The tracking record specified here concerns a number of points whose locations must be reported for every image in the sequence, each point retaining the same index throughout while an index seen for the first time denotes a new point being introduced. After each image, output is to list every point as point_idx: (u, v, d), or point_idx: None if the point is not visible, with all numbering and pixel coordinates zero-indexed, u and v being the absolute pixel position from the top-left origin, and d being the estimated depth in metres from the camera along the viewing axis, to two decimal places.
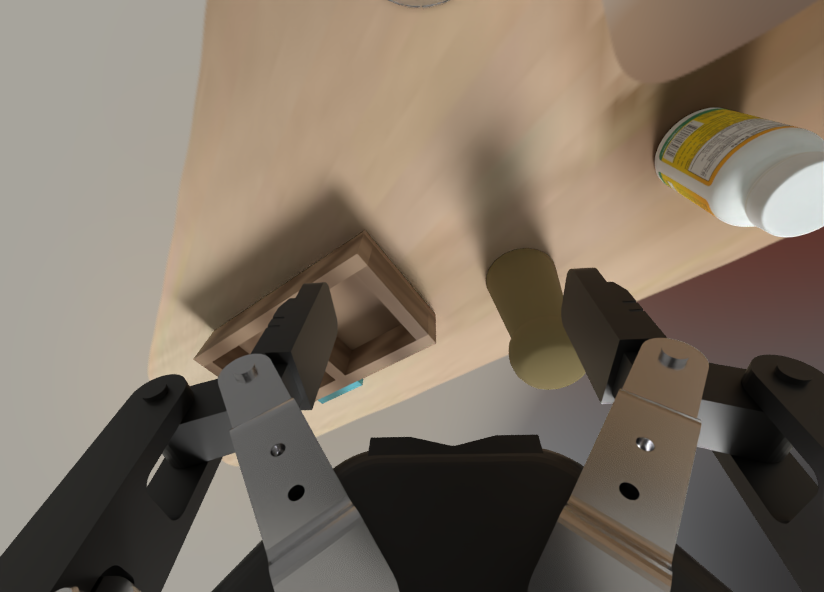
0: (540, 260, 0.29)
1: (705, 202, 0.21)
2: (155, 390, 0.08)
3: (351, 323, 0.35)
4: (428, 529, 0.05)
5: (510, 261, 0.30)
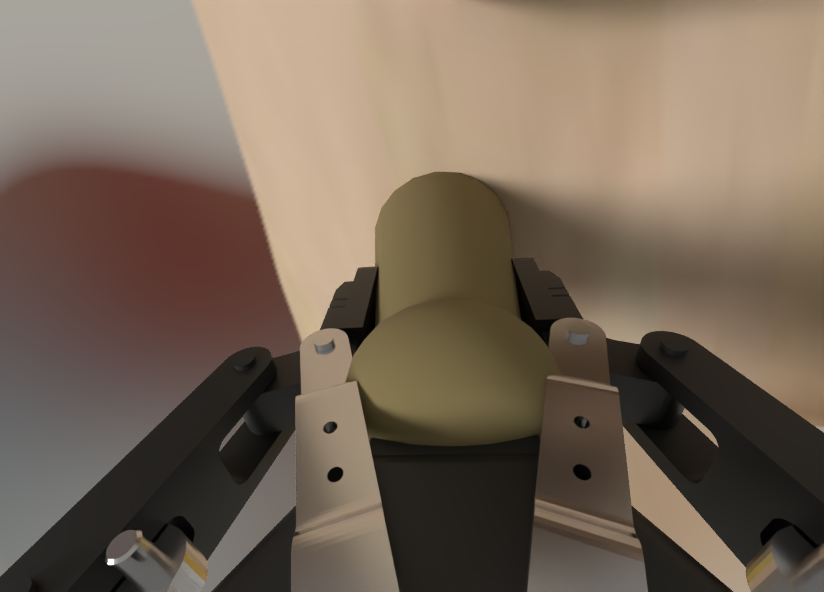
0: None
1: None
2: (244, 360, 0.09)
3: None
4: (428, 529, 0.05)
5: None
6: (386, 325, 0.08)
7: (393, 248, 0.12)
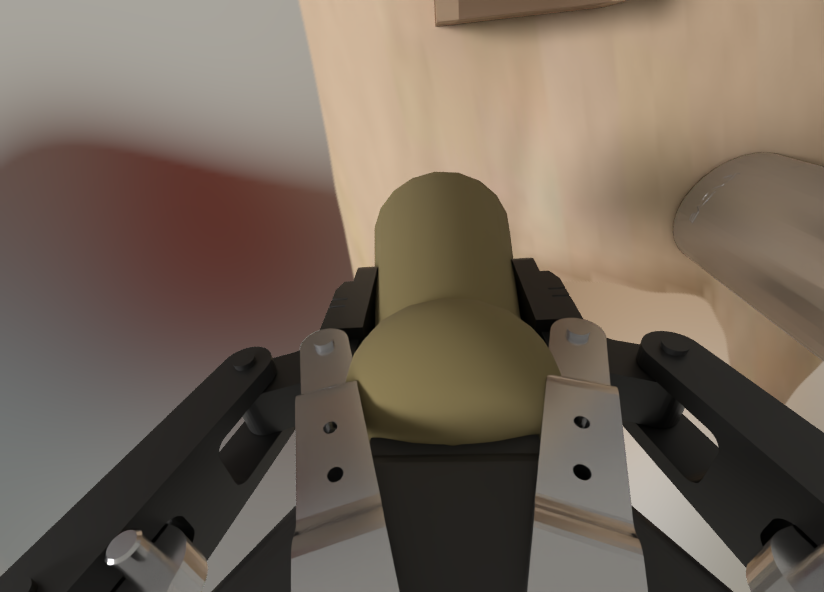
0: None
1: None
2: (244, 360, 0.09)
3: None
4: (428, 529, 0.05)
5: None
6: (386, 324, 0.08)
7: (392, 248, 0.12)
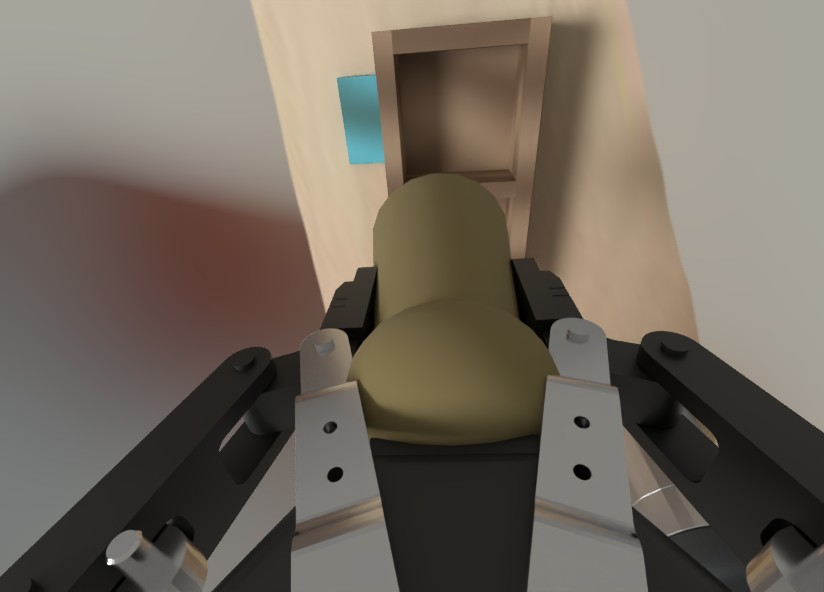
0: None
1: None
2: (244, 360, 0.09)
3: None
4: (428, 528, 0.05)
5: None
6: (386, 326, 0.08)
7: (391, 249, 0.12)
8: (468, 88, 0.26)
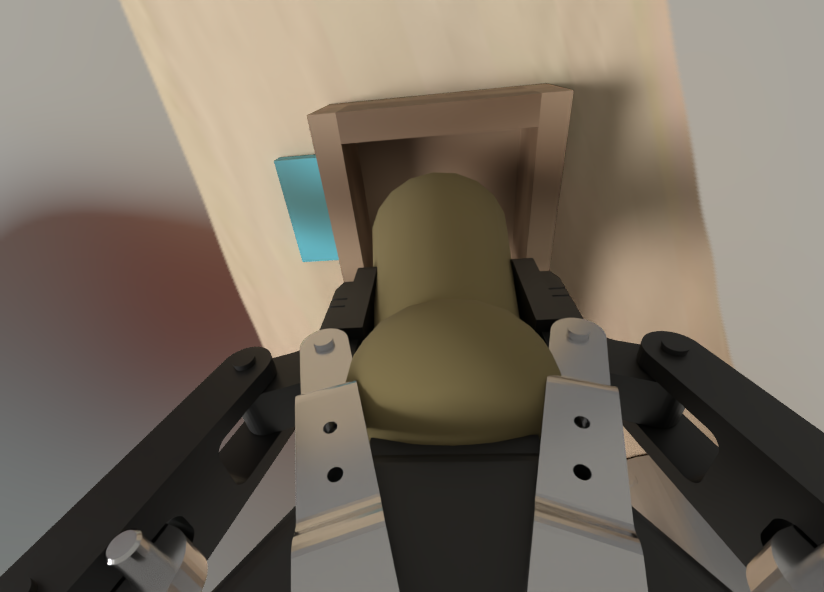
0: None
1: None
2: (244, 360, 0.09)
3: None
4: (428, 529, 0.05)
5: None
6: (386, 325, 0.08)
7: (391, 249, 0.12)
8: (454, 170, 0.19)
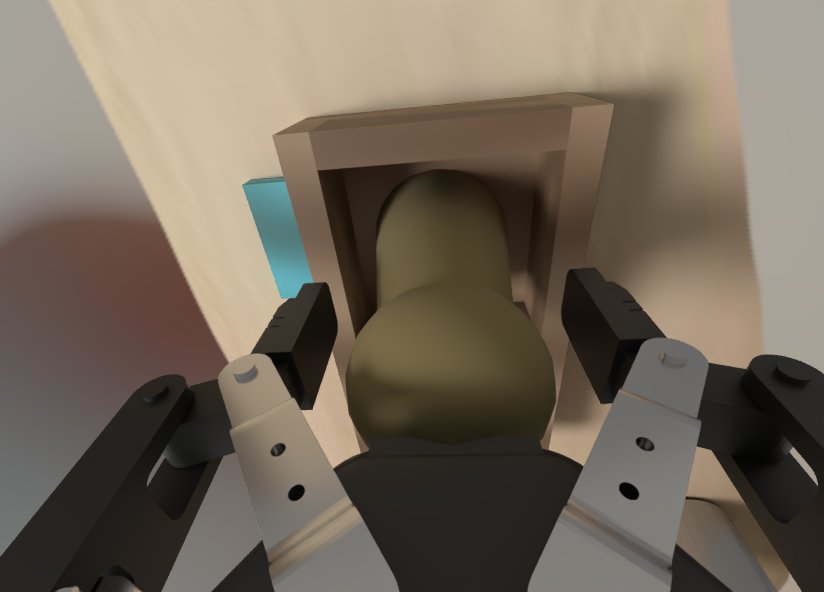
0: None
1: None
2: (155, 390, 0.08)
3: None
4: (428, 529, 0.05)
5: None
6: (387, 307, 0.09)
7: (393, 240, 0.13)
8: None
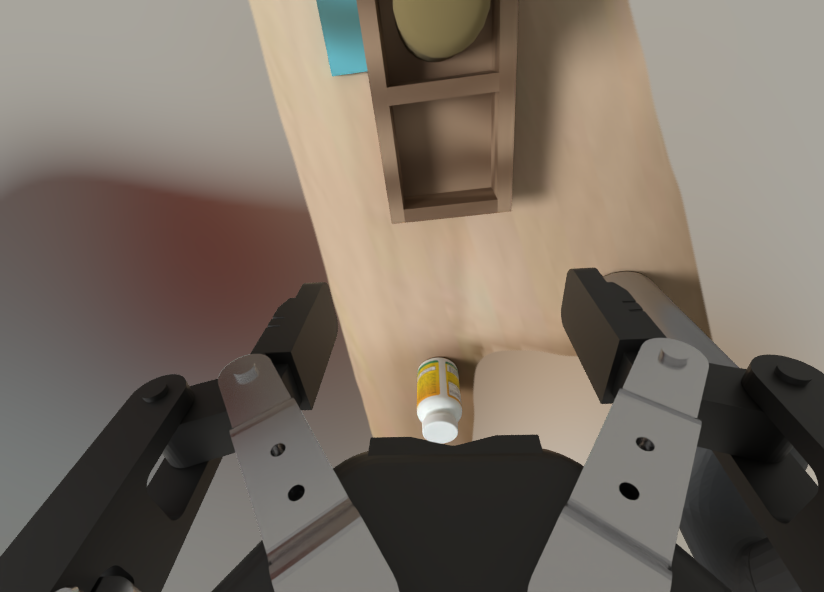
0: None
1: (437, 392, 0.42)
2: (155, 390, 0.08)
3: (427, 126, 0.31)
4: (428, 529, 0.05)
5: None
6: None
7: None
8: None
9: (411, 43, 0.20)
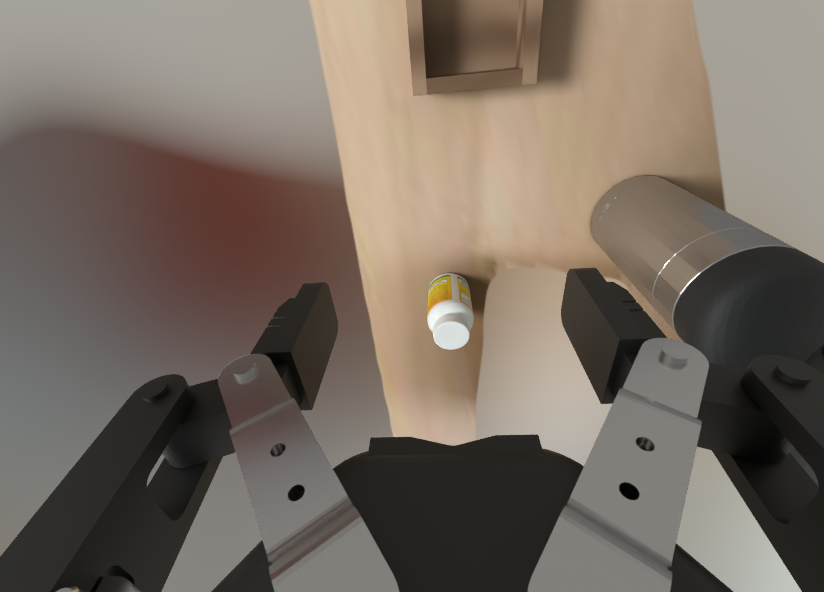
0: None
1: (449, 298, 0.41)
2: (155, 390, 0.08)
3: None
4: (428, 528, 0.05)
5: None
6: None
7: None
8: None
9: None
